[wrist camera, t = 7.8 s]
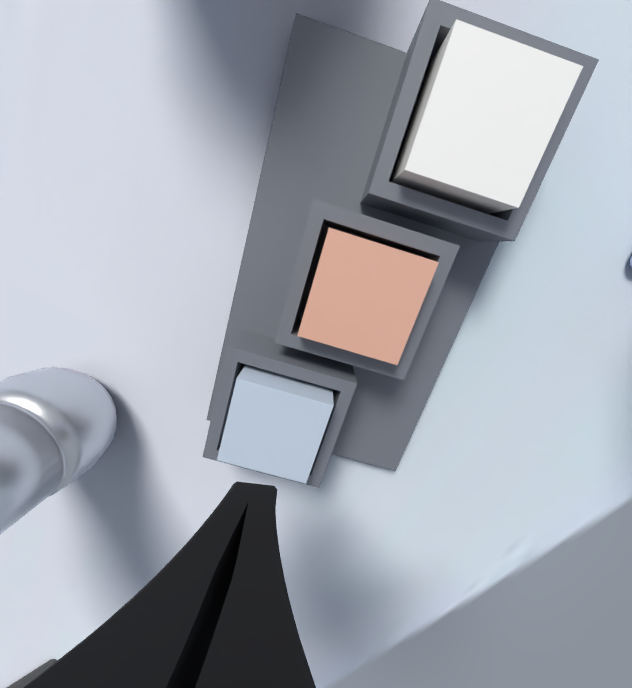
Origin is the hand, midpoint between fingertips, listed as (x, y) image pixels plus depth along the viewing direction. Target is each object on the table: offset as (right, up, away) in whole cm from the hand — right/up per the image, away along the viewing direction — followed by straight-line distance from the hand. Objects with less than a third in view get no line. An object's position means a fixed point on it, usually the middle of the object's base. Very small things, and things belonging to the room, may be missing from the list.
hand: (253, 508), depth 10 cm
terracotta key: (+4, +8, +5) cm, 10 cm away
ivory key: (+8, +14, +3) cm, 16 cm away
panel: (+4, +9, +7) cm, 12 cm away
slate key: (0, +2, +6) cm, 7 cm away
